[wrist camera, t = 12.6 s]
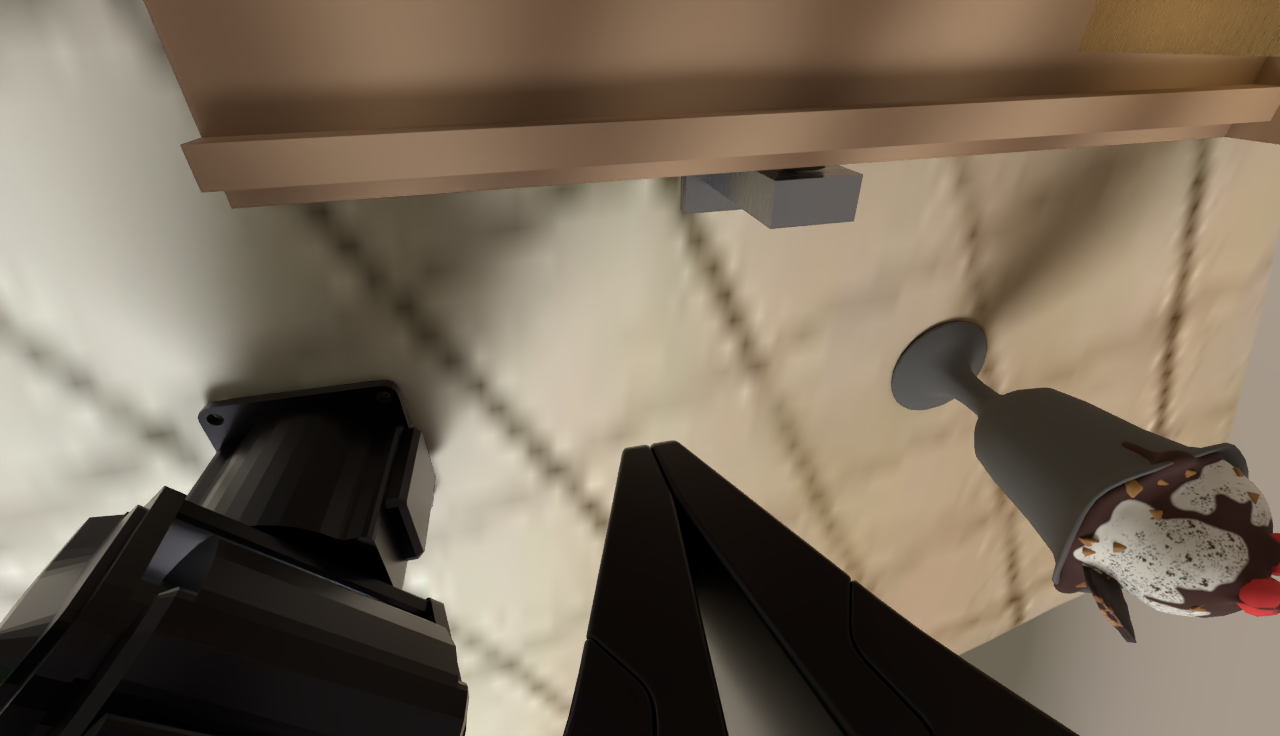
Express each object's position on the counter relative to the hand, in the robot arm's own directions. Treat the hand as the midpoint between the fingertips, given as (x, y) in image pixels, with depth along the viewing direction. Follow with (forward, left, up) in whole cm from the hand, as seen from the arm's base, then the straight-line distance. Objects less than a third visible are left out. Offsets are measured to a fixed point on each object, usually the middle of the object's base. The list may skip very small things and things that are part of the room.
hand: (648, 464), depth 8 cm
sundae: (+17, -8, -12) cm, 22 cm away
